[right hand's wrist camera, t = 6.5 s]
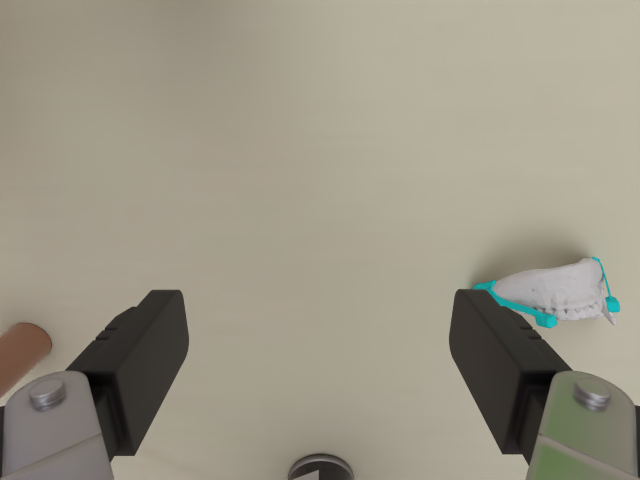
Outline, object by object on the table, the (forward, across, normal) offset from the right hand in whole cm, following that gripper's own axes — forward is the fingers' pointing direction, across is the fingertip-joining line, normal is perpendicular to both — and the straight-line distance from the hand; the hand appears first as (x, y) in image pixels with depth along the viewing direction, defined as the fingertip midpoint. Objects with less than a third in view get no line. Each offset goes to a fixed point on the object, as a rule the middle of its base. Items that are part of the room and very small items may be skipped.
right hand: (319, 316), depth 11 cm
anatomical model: (+29, +24, -14) cm, 40 cm away
